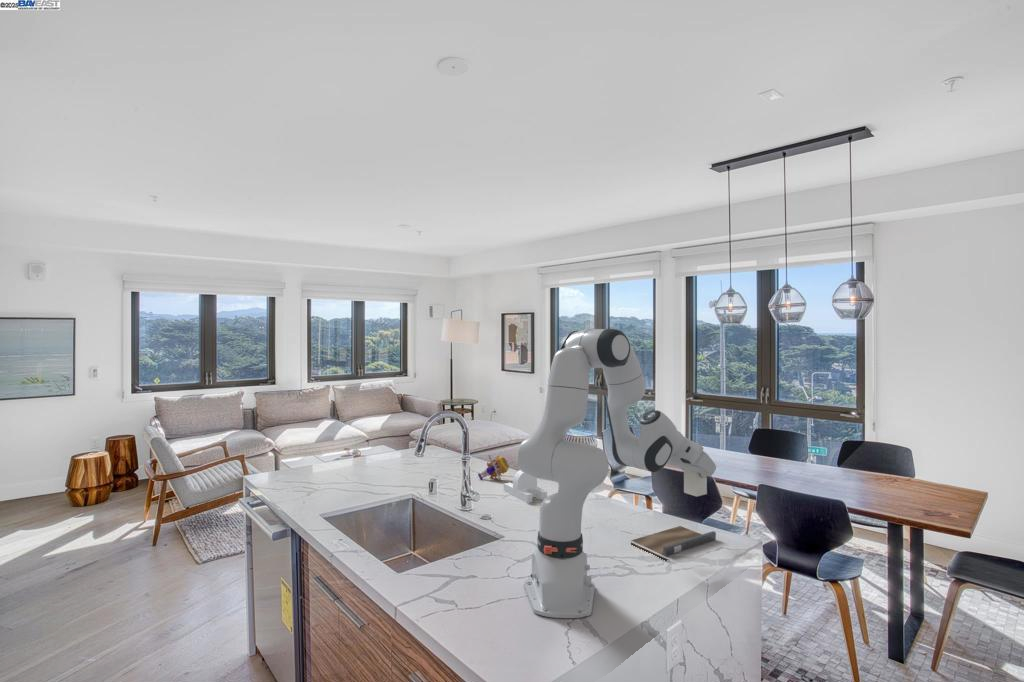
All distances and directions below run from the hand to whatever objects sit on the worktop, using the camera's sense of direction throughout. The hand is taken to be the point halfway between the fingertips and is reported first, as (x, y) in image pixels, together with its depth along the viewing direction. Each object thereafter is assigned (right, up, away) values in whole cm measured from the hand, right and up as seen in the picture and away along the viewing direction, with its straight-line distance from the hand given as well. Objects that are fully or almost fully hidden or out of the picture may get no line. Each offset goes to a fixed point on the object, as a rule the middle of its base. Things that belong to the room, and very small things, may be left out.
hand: (696, 474), depth 167 cm
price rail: (-5, -21, -8) cm, 23 cm away
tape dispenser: (-55, -21, +46) cm, 75 cm away
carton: (0, -6, 0) cm, 6 cm away
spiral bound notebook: (-8, -22, -3) cm, 24 cm away
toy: (-69, -21, +70) cm, 100 cm away
